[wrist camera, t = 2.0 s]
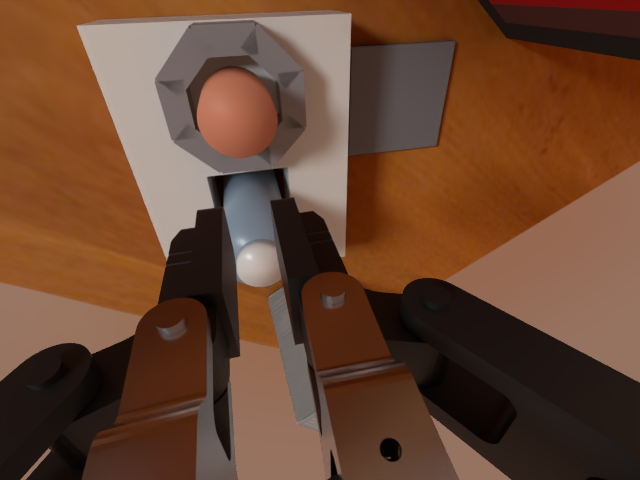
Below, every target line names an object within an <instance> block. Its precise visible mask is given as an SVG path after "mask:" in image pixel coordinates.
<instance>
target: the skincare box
mask: <svg viewBox="0 0 640 480" xmlns="http://www.w3.org/2000/svg"><path fill="white" fill-rule="evenodd" d="M268 302H269V306H270V310H271V314H272V318H273V323H274V327H275V331H276V335H277V340H278V344H279V349H280V352H281V357H282V361H283V365H284V370H285V374H286V378H287V382H288V386H289V391H290V396H291V400H292V404H293V409H294V413H295V417H296V423H297V424H299V425H301V426H304V427H307V428H309V429H312V430H315V431H317V432H319V430H318V424H317V419H316V413H315V408H314V402H313V396H312V391H311V385H310V380H309V374H308V367H307V356H306V352H305V348H304V343H303V344H298V345H295V343H294V338H293V333H292V328H291V323H290V318H289V313H288V308H287V303H286V298H285V293H284V288H283V287H282V288H281V289H279V290H278V291H277V292H275V293H274V294H272V295H270V296H269V299H268Z"/></svg>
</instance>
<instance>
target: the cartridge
mask: <svg viewBox="0 0 640 480" xmlns="http://www.w3.org/2000/svg"><path fill="white" fill-rule="evenodd" d="M277 199H282V198H281V194H280V190H279V187H278V183H277V180H276V176H275V173H274V170H273V169H268V170H260V171H251V172H243V173H234V174H226V175H224V210H225V214H226V218H227V223H228V227H229V232H230V236H231V241H232V245H233V250H234V255H235V262H236V276H237V281H239V282H241V283H244V284H247V285H250V286H255V287H265V286H269V285H272V284H274V283H276V282H278V281H279V280H280V279H282V278H281V273H280V268H279V263H278V258H277V252H276V245H275V238H274V230H273V222H272V215H271V207H270V200H277Z"/></svg>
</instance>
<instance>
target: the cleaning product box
mask: <svg viewBox="0 0 640 480" xmlns="http://www.w3.org/2000/svg"><path fill="white" fill-rule="evenodd" d="M478 1H479V2H480V4H481V5H482V6H483V8H484V9H485V10H486V12H487V13H488V14H489V15H490V17H491V18H492V19H493V21H494V22H495V23H496V25H497V26H498V27H499V28H500V30H501V31H502V32H503V34H504V35H505V36H506V38H511V39H517V40H522V41H528V42H534V43H540V44H546V45H552V46H558V47H564V48H570V49H576V50H581V51H587V52H593V53H599V54H605V55H611V56H617V57H623V58H629V59H635V60H640V0H478Z"/></svg>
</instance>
